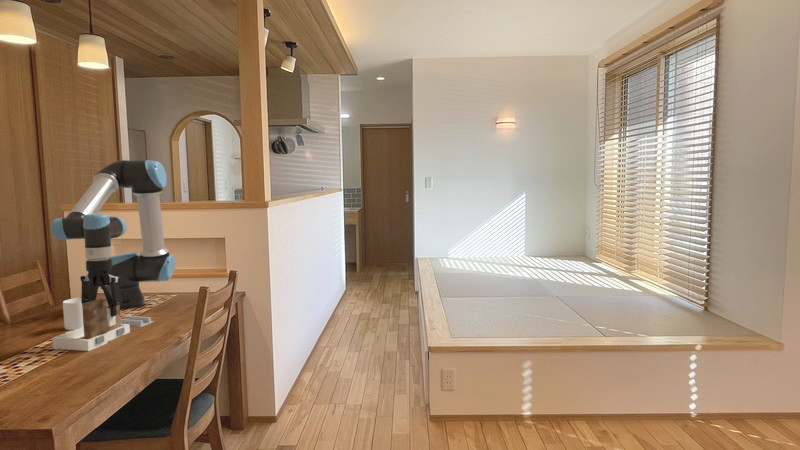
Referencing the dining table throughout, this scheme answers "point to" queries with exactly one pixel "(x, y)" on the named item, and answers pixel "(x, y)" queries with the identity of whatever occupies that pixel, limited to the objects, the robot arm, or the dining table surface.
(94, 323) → the door
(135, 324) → the rack
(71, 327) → the mug
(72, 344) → the white tray
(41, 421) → the dining table surface
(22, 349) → the dining table surface
